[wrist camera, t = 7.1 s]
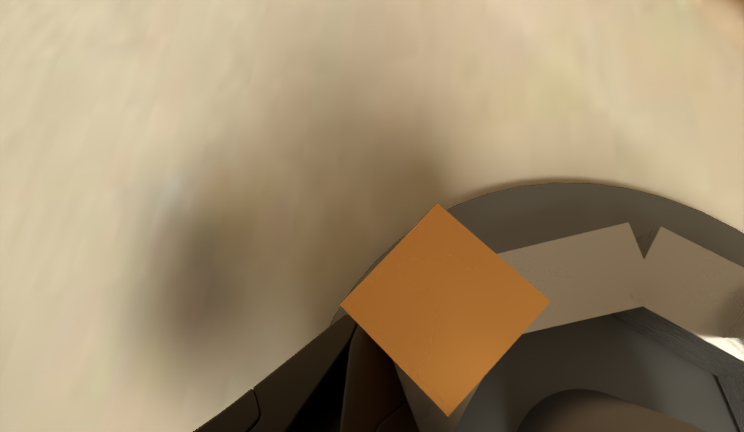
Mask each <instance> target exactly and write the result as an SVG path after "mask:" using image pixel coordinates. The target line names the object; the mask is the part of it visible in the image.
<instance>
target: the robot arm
mask: <svg viewBox="0 0 744 432" xmlns="http://www.w3.org/2000/svg"><path fill="white" fill-rule="evenodd" d="M193 432H420V430H419V427H418V425H417V423H416V420H415V418H414V415H413V413H412V410H411V407H410V405H409V403H408V400H407V397H406V395H405V392H404V389H403V386H402V384H401V381H400V378H399V376H398V373H397V370H396V367H395V365H394V362H393V359H392V358H391V357H390V356H389V355H388V354H387V353H386V352H385V351H384V350H383V349H382V348H381V347H380V346H379V345H378V344H377V343H376V342H375V341H374V340H373V339H372V338H371V337H370V336H369V334H368V333H367V332H366V331H365V330H364V329H363V328H362V327H361V326H360V325H359V324H358V323H357V322H356V321H355V320H354V319H353V318H352V317H351V316H350V315H349V314H345V315H343V316H342V317H341V318H340V319H338V320H337V321H336V322H335V323H333V324H332V325H331V326H330V327H328V328H327V329H326V330H325V331H324V332H322V333H321V334H320V335H319V336H317V337H316V338H315V339H314V340H312V341H311V342H310V343H309V344H307V345H306V346H305V347H304V348H302V349H301V350H300V351H299V352H297V353H296V354H295V355H294V356H292V357H291V358H290V359H289V360H287V361H286V362H285V363H284V364H282V365H281V366H280V367H279V368H277V369H276V370H275V371H274V372H272V373H271V374H270V375H269V376H267V377H266V378H265V379H264V380H262V381H261V382H260V383H259V384H257V385H256V386H255V387H254V388H253V389H250V390H249V391H248V392H247V393H245V394H244V395H243V396H242V397H240V398H239V399H238V400H237V401H235V402H234V403H233V404H231V405H230V406H229V407H227V408H226V409H225V410H223V411H222V412H221V413H219V414H218V415H216V416H215V417H214V418H212V419H211V420H209V421H208V422H206V423H205V424H203V425H202V426H201V427H199V428H198V429H196V430H195V431H193Z"/></svg>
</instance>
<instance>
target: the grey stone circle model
mask: <svg viewBox="0 0 744 432" xmlns="http://www.w3.org/2000/svg"><path fill="white" fill-rule="evenodd" d="M446 211H447V212H448V213H450V214H451V215H452V216H453V217H454V218H455V219H457V220H458V221H459V222H460V223H461V224H462V225H463V226H465V227H466V228H467V229H468V230H469V231H470V232H472V233H473V234H474V235H475V236H476V237H477V238H478V239H480V240H481V241H482V242H483V243H484V244H485V245H487V246H488V247H489V248H490V249H491V250H492V251H493V252H495V253H496V254H498V253H503V252H507V251H511V250H515V249H519V248H523V247H528V246H532V245H536V244H540V243H544V242H548V241H553V240H557V239H561V238H565V237H569V236H573V235H578V234H582V233H586V232H590V231H594V230H598V229H603V228H607V227H611V226H615V225H619V224H623V223H628V222H629V224H630V227H631V229H632V232H633V234H634V237H638V236H640V235H642V234H645V233H647V232H649V231H652V230H654V229H656V228H658V227H663V228H665V229H667V230H669V231H671V232H673V233H675V234H677V235H679V236H681V237H683V238H685V239H687V240H689V241H691V242H693V243H695V244H697V245H699V246H701V247H703V248H705V249H707V250H709V251H711V252H713V253H715V254H717V255H719V256H721V257H723V258H725V259H727V260H729V261H731V262H733V263H735V264H737V265H739V266H741V267H743V268H744V234H743V233H742V232H740V231H738V230H737V229H735V228H733V227H731V226H729V225H727V224H725V223H723V222H721V221H719V220H717V219H715V218H713V217H711V216H709V215H707V214H705V213H703V212H701V211H698V210H696V209H693V208H690V207H688V206H685V205H682V204H680V203H677V202H674V201H671V200H669V199H666V198H663V197H659V196H655V195H651V194H647V193H643V192H640V191H636V190H632V189H628V188H621V187H613V186H606V185H598V184H591V183H548V184H538V185H529V186H520V187H516V188H511V189H507V190H502V191H498V192H494V193H489V194H486V195H483V196H480V197H478V198H475V199H472V200H470V201H467V202H464V203H461V204H459V205H456V206H454V207H452V208H450V209H448V210H446ZM405 236H406V235H405ZM405 236H404V237H405ZM404 237H403V238H404ZM403 238H401V239H400V240H399V241H398V242H396V243H395V244H394V245H393V246H392V247H391V248H390V249H389V250H388V251H386V252H385V253H384V254H383V255H382V256H381V257H380V258H379V259H378V260H377V261H375V263H374V264H373V265H372V266H371V267H370V268H369V270H368V271H367V272H366V273H365V274H364V275H363V277H362V278H361V279H360V280H359V281H358V282H357V284H356V285H355V286H354V287H353V289H352V290H351V292H352V291H353V290H354V289H355V288H356V287H357V286H358V285H359V284H360V283H361V282H362V281H363V280H364V279H365V278H366V277H367V276H368V275H369V274H370V273H371V272H372V271H373V269H374V268H375V267H376V266H377V265H378V264H379V263H380V262H381V261H382V260H383V259H384V258H385V257H386V256H387V255H388V254H389V253H390V252H391V251H392V250H393V249H394V248H395V247H396V246H397V245H398V244H399V242H400V241H401V240H402V239H403ZM351 292H350V293H351ZM350 293H349V294H350ZM347 297H348V296H347ZM345 314H348V313H347V312H346V311H345V310H344V309H343V308H342V307H340V309H339V310H338V312H337V313H336V315H335V316H334V318H333V320H332V322H331V324H330V326H331V325H332V324H333V323H335V322H336V321H337V320H338V319H340V318H341V317H342V316H343V315H345ZM330 326H329V327H330ZM453 432H741V431H740V429H739V427H738V424H737V422H736V420H735V417H734V415H733V413H732V410H731V408H730V405H729V403H728V401H727V398H726V396H725V394H724V391H723V389H722V387H721V384H720V382H719V379H718V377H717V376H716V375H714V374H712V373H711V372H709V371H707V370H705V369H704V368H702V367H700V366H698V365H696V364H695V363H693V362H691V361H689V360H688V359H686V358H684V357H682V356H680V355H679V354H677V353H675V352H673V351H672V350H670V349H668V348H666V347H665V346H663V345H661V344H659V343H657V342H656V341H654V340H652V339H650V338H649V337H647V336H645V335H643V334H641V333H640V332H638V331H636V330H634V329H633V328H631V327H629V326H627V325H626V324H624V323H622V322H620V321H618V320H617V319H615V318H613V317H611V316H610V315H608V314H607V315H603V316H598V317H594V318H589V319H585V320H581V321H576V322H572V323H568V324H563V325H559V326H554V327H550V328H546V329H541V330H537V331H533V332H528V333H524V334H522V335H521V336H520V337H519V338H518V339H517V340H516V341H515V342H514V344H513V345H512V346H511V347H510V348H509V349H508V350H507V351H506V353H505V354H504V355H503V356H502V357H501V358H500V359H499V360H498V362H497V363H496V364H495V365H494V366H493V367H492V368H491V369H490V370H489V372H488V373H487V374H486V375H485V376H484V377H483V378H482V380H481V382H480V384H479V385H478V387H477V389H476V391H475V393H474V394H473V396H472V398H471V400H470V402H469V404H468V405H467V407H466V409H465V411H464V413H463V414H462V416H461V418H460V420H459V422H458V424H457V425H456V427H455V429H454V431H453Z"/></svg>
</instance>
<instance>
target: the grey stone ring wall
mask: <svg viewBox="0 0 744 432" xmlns="http://www.w3.org/2000/svg"><path fill="white" fill-rule="evenodd" d="M340 306H341V307H342V308H343V309H344V310H345V311H346V312H347V313H348V314H349V315H350V316H351V317H352V318H353V319H354V320H355V321H356V322H357V323H358V324H359V325H360V326H361V327H362V328H363V329H364V330H365V331H366V332H367V333H368V334H369V336H370V337H371V338H372V339H373V340H374V341H375V342H376V343H377V344H378V345H379V346H380V347H381V348H382V349H383V350H384V351H385V352H386V353H387V354H388V355H389V356H390V357H391V358H392V359H393V362H394V365H395V367H396V370H397V373H398V376H399V378H400V381H401V384H402V386H403V389H404V392H405V395H406V397H407V400H408V403H409V405H410V407H411V410H412V413H413V415H414V418H415V420H416V423H417V425H418V427H419V430H420V432H453V431H454V429H455V427H456V425H457V424H458V422H459V420H460V418H461V416H462V414H463V413H464V411H465V409H466V407H467V405H468V404H469V402H470V400H471V398H472V396H473V394H474V393H475V391H476V389H477V387H478V385H479V384H480V382H481V380H482V378H483V377H484V376H485V375H486V374H487V373H488V372H489V370H490V369H491V368H492V367H493V366H494V365H495V364H496V363H497V362H498V360H499V359H500V358H501V357H502V356H503V355H504V354H505V353H506V351H507V350H508V349H509V348H510V347H511V346H512V345H513V344H514V342H515V341H516V340H517V339H518V338H519V337H520V336H521V335H522V334H524V333H528V332H533V331H537V330H541V329H546V328H550V327H554V326H559V325H563V324H568V323H572V322H576V321H581V320H585V319H589V318H594V317H598V316H603V315H607V314H608V315H610V316H611V317H613V318H615V319H617V320H618V321H620V322H622V323H624V324H626V325H627V326H629V327H631V328H633V329H634V330H636V331H638V332H640V333H641V334H643V335H645V336H647V337H649V338H650V339H652V340H654V341H656V342H657V343H659V344H661V345H663V346H665V347H666V348H668V349H670V350H672V351H673V352H675V353H677V354H679V355H680V356H682V357H684V358H686V359H688V360H689V361H691V362H693V363H695V364H696V365H698V366H700V367H702V368H704V369H705V370H707V371H709V372H711V373H712V374H714V375H716V376H717V377H718V379H719V382H720V384H721V387H722V389H723V391H724V394H725V396H726V398H727V401H728V403H729V405H730V408H731V410H732V413H733V415H734V417H735V420H736V422H737V424H738V427H739V429H740V431H741V432H744V268H743V267H741V266H739V265H737V264H735V263H733V262H731V261H729V260H727V259H725V258H723V257H721V256H719V255H717V254H715V253H713V252H711V251H709V250H707V249H705V248H703V247H701V246H699V245H697V244H695V243H693V242H691V241H689V240H687V239H685V238H683V237H681V236H679V235H677V234H675V233H673V232H671V231H669V230H667V229H665V228H663V227H658V228H656V229H654V230H652V231H649V232H647V233H645V234H642V235H640V236H638V237H634V234H633V232H632V229H631V227H630V224H629V222H628V223H623V224H619V225H615V226H611V227H607V228H603V229H598V230H594V231H590V232H586V233H582V234H578V235H573V236H569V237H565V238H561V239H557V240H553V241H548V242H544V243H540V244H536V245H532V246H528V247H523V248H519V249H515V250H511V251H507V252H503V253H498V254H496V253H495V252H493V251H492V250H491V249H490V248H489V247H488V246H487V245H485V244H484V243H483V242H482V241H481V240H480V239H478V238H477V237H476V236H475V235H474V234H473V233H472V232H470V231H469V230H468V229H467V228H466V227H465V226H463V225H462V224H461V223H460V222H459V221H458V220H457V219H455V218H454V217H453V216H452V215H451V214H450V213H448V212H447V211H446V210H445V209H444V208H443V207H442V206H440V205H439V204H438V203H437V204H436V205H435V206H434V207H433V208H432V209H431V210H430V211H429V212H428V213H427V214H426V215H425V217H424V218H423V219H422V220H421V221H420V222H419V223H418V224H417V225H416V226H415V227H414V228H413V229H412V230H411V231H410V232H409V233H408V234H407V235H406V236H405V237H404V238H403V239H402V240H401V241H400V242H399V244H398V245H397V246H396V247H395V248H394V249H393V250H392V251H391V252H390V253H389V254H388V255H387V256H386V257H385V258H384V259H383V260H382V261H381V262H380V263H379V264H378V265H377V266H376V267H375V268H374V269H373V271H372V272H371V273H370V274H369V275H368V276H367V277H366V278H365V279H364V280H363V281H362V282H361V283H360V284H359V285H358V286H357V287H356V288H355V289H354V290H353V291H352V292H351V293H350V294H349V295H348V297H347V298H346V299H345V300H344V301H343V302H342V303H341V304H340Z"/></svg>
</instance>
